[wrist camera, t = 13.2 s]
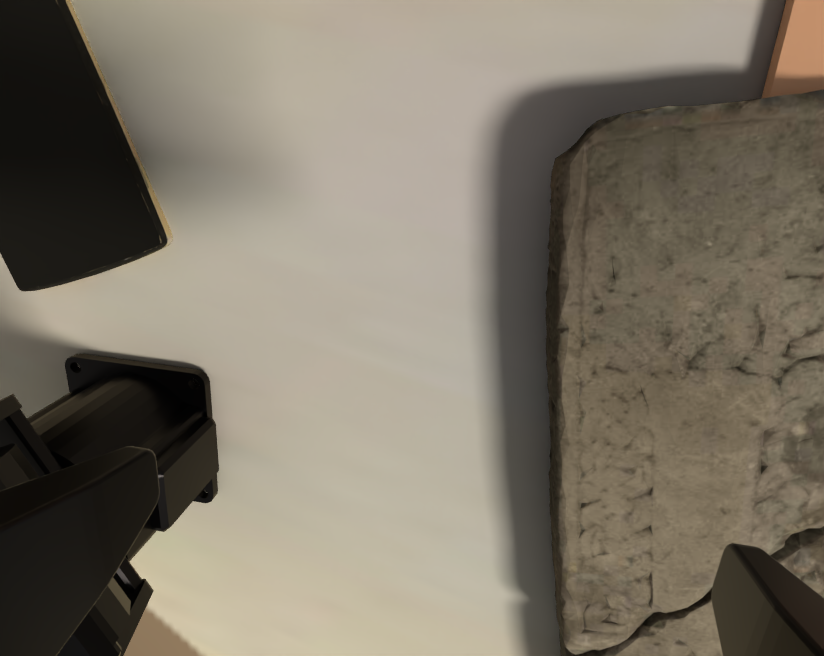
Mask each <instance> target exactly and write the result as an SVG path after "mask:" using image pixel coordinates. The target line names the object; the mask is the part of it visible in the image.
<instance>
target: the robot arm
mask: <svg viewBox="0 0 824 656" xmlns="http://www.w3.org/2000/svg"><path fill="white" fill-rule="evenodd" d="M77 363H78V364H79V365H80V367H81V368H79V367H78V365H77ZM65 368H66V374H67V380H68V385H69V391H70V393H68V394H67V395H65V396H63V397H62V398H60V399H59V400H57V401H55V402H54V403H52V404H50V405H49V406H47V407H45V408H44V409H42V410H40V411H39V412H37V413H35V414H34V415H32V416H31V417H29V418H26V417H25V416H24V414H23V413H22V411H21V410H20V408H22V406H21V404H20V403H19V402H18V400H17V399H16V397H15V396H14V395H13V394H12V395H10V396H8V397H6V398H4V399H2V400H0V656H123V655H124V653H125V651H126V649H127V646H128V644H129V642H130V640H131V638H132V636H133V634H134V632H135V629H136V627H137V625H138V623H139V621H140V619H141V617H142V614H143V612H144V610H145V608H146V606H147V604H148V602H149V599H150V597H151V595H152V593H153V589H152V588H151V586H150V585H149V584H148V582H147V581H146V579H141V577H140V576H139V575H138V573H137V572H136V571H135V569H134V568H133V566H132V565H131V564H130V562H129V561H130V560H131V559H132V558H133V557H134V556H135V555H136V554H137V552H138V551H139V550H140V549H141V548H142V547H143V546H144V544H145V543H146V542H147V541H148V540H149V539H150V538H151V537H152V535H153V534H154V533H155V532H156V531H163V532H164V531H166V530H167V529H168V528H170V527H171V526H172V525H173V524H174V522H175V521H176V520H177V519H178V518H179V517H180V515H181V514H182V513H183V512H184V511H185V510H186V508H187V507H188V506H189V505H190V504H191V503H192V501H196V502H202V503H209V502H211V501H212V500H213V498H214V497H215V496H216V495H217V492H218V486H217V472H218V471H219V464H218V450H217V436H216V424H215V422H214V420H213V418H212V405H211V391H210V381H209V377H208V376H207V374H206V373H204V372H203V371H201V370H198V369H191V368H183V367H176V366H169V365H161V364H154V363H147V362H139V361H132V360H125V359H117V358H110V357H102V356H95V355H88V354H75V355H73V356H72V357H70V358H68V359H67V360H66V362H65ZM193 379H196V380H197V381H198V382H199V385H200V386H199V385H196V384H195V383H194V380H193ZM203 489H204V490H206V491H207V492H208V493H206V492H205V491H204V490H203ZM711 598H712V606H713V611H714V615H715V620H716V625H717V630H718V635H719V639H720V644H721V649H722V654H723V656H824V598H823V597H822V596H821V595H820V594H818V593H817V592H816V591H814V590H813V589H812V588H811V587H809V586H808V585H807V584H806V583H804V582H803V581H802V580H801V579H799V578H798V577H797V576H795V575H794V574H793V573H792V572H790V571H789V570H788V569H787V568H785V567H784V566H783V565H782V564H780V563H779V562H778V561H776V560H775V559H774V558H773V557H771V556H770V555H769V554H768V553H766V552H765V551H764V550H762V549H761V548H758V547H755V546H749V545H742V544H736V543H731V544H728V545H727V546H726V547H725V549H724V551H723V554H722V557H721V560H720V563H719V567H718V570H717V573H716V576H715V579H714V582H713V586H712V595H711Z"/></svg>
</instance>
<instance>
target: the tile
mask: <svg viewBox="0 0 824 656" xmlns="http://www.w3.org/2000/svg"><path fill="white" fill-rule="evenodd" d="M823 89H824V0H786V4H785V8H784V12H783V16H782V20H781V23H780V27H779V31H778V35H777V39H776V43H775V47H774V51H773V55H772V59H771V63H770V67H769V71H768V74H767V78H766V82H765V86H764V90H763V94H762V98H767V97H774V96H781V95H789V94H801V93H807V92H812V91H817V90H823Z"/></svg>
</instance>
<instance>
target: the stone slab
mask: <svg viewBox="0 0 824 656" xmlns="http://www.w3.org/2000/svg"><path fill="white" fill-rule="evenodd" d="M550 187H551V200H550V203H551V219H550V228H549V244H548V249H549V250H550V252H549V268H548V286H547V291H546V301H547V308H546V325H547V338H546V353H547V364H546V365H547V372H548V391H549V416H550V434H551V450H550V462H551V467H550V471H549V479H550V489H549V490H550V515H551V531H552V550H553V563H554V571H555V584H556V591H555V598H556V603H557V605H556V610H557V620H558V624H559V628H560V630H559V631H560V646H561V650H560V653H561V656H723V654H722V649H721V644H720V639H719V635H718V630H717V625H716V620H715V615H714V611H713V606H712V598H711V595H712V586H713V582H714V579H715V576H716V573H717V570H718V567H719V563H720V560H721V557H722V554H723V551H724V549H725V547H726V546H727V545H728V544H731V543H736V544H742V545H749V546H755V547H758V548H761V549H762V550H764V551H765V552H766V553H768V554H769V555H770V556H771V557H773V558H774V559H775V560H776V561H778V562H779V563H780V564H782V565H783V566H784V567H785V568H787V569H788V570H789V571H790V572H792V573H793V574H794V575H795V576H797V577H798V578H799V579H801V580H802V581H803V582H804V583H806V584H807V585H808V586H809V587H811V588H812V589H813V590H814V591H816V592H817V593H818V594H820V595H821V596H822V597H823V598H824V89H823V90H817V91H812V92H807V93H801V94H789V95H781V96H774V97H767V98H761V99H754V100H747V101H741V102H730V103H719V104H709V105H698V106H664V107H658V108H652V109H646V110H640V111H634V112H629V113H624V114H620V115H616V116H612V117H609V118H605V119H601V120H598V121H597V122H596V123H594V124H593V125H592V126H591V127H589V128H588V129H587V130H586V131H585V133H584V134H583V135H582V136H581V138H580V139H579V140H578V141H577V142H576V143H575V144H574V145H573V146H572V147H571V148H570V149H568V150H567V151H566V152H565V153H563V154H562V155H560V156H559V157H557V158H556V159H555V162H554V166H553V170H552V176H551V185H550Z"/></svg>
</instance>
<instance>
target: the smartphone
mask: <svg viewBox="0 0 824 656" xmlns="http://www.w3.org/2000/svg"><path fill="white" fill-rule="evenodd" d="M172 240H173V237H172V233H171V230H170V228H169V225H168V223H167V221H166V218H165V216H164V214H163V211H162V209H161V207H160V205H159V202H158V200H157V198H156V196H155V193H154V191H153V189H152V186H151V184H150V182H149V180H148V177H147V175H146V173H145V170H144V168H143V166H142V164H141V161H140V159H139V157H138V155H137V152H136V150H135V148H134V145H133V143H132V141H131V139H130V136H129V134H128V132H127V130H126V127H125V125H124V123H123V120H122V118H121V116H120V114H119V111H118V109H117V107H116V104H115V102H114V100H113V98H112V95H111V93H110V91H109V89H108V86H107V84H106V82H105V79H104V77H103V75H102V73H101V70H100V68H99V66H98V64H97V61H96V59H95V57H94V54H93V52H92V50H91V48H90V45H89V43H88V41H87V39H86V36H85V34H84V32H83V29H82V27H81V25H80V23H79V20H78V18H77V16H76V14H75V11H74V9H73V7H72V4H71V2H70V0H0V253H1V255H2V257H3V259H4V261H5V263H6V265H7V267H8V269H9V271H10V273H11V275H12V277H13V279H14V281H15V283H16V285H17V287H18V288H19V289H20V290H21V291H35V290H41V289H45V288H49V287H54V286H58V285H62V284H65V283H69V282H72V281H76V280H79V279H82V278H86V277H89V276H92V275H96V274H99V273H102V272H105V271H107V270H110V269H113V268H116V267H119V266H121V265H124V264H127V263H130V262H132V261H135V260H137V259H140V258H142V257H145V256H147V255H149V254H152V253H154V252H156V251H158V250H160V249H162V248H164V247H166V246H168V245H169V244H170V243H171V242H172Z"/></svg>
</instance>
